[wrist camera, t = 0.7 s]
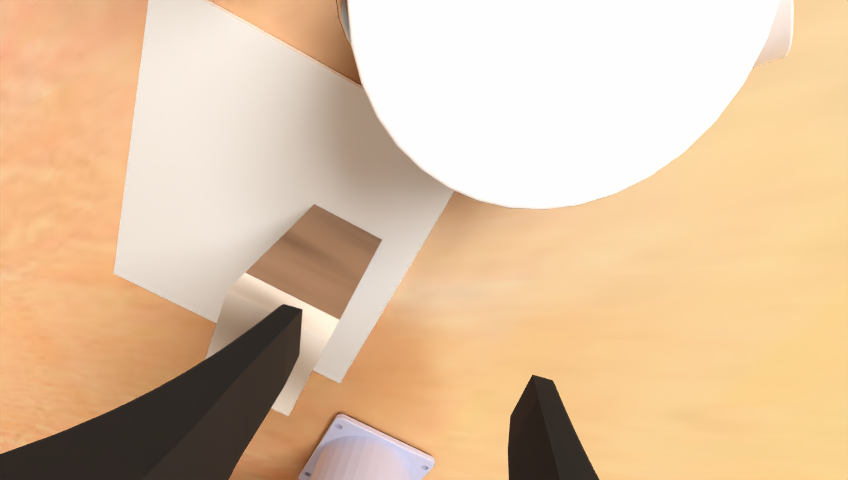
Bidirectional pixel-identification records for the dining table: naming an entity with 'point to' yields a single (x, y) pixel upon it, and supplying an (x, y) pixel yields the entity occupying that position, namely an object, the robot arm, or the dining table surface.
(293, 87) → the mat
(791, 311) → the dining table surface
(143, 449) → the robot arm
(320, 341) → the walnut block
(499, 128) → the spread jar
